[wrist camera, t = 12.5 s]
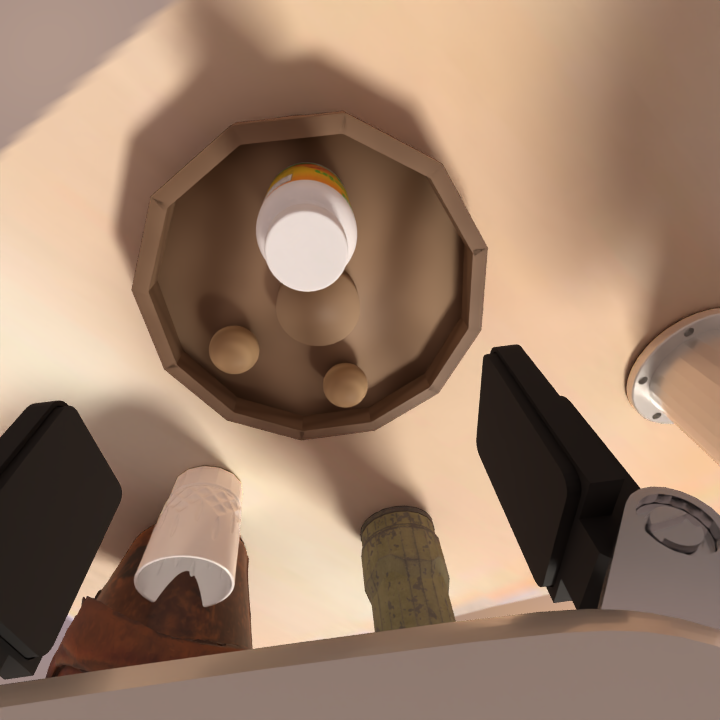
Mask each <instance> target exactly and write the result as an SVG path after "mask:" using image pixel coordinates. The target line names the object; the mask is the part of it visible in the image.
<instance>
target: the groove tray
mask: <svg viewBox="0 0 720 720" xmlns="http://www.w3.org/2000/svg"><path fill="white" fill-rule="evenodd" d="M303 162H310V163H316V164H319V165H322V166H324V167H326V168H328V169H329V170H331V171H332V172H333V173H334V174H335V175H336V176H337V177H338V178H339V179H340V181H341V182H342V184H343V185H344V187H345V189H346V192H347V195H348V198H349V201H350V205H351V208H352V211H353V214H354V217H355V221H356V226H357V242H356V247H355V250H354V253H353V255H352V257H351V259H350V261H349V262H348V264H347V265H346V266H345V269H344V271H343V272H342V274H341V275H340V276H339V278H338V279H337V280H336V281H335V282H334V283H332V284H331V285H329V286H328V287H326V288H323V289H321V290H317V291H310V292H305V291H298V290H295V289H292V288H289V287H287V286H286V285H284V284H283V283H281V282H280V281H279V280H278V279H277V278H276V277H275V276H274V275H273V274H272V272H271V271H270V269H269V267H268V265H267V262H266V260H265V259H264V257H263V255H262V254H261V252H260V249H259V246H258V243H257V238H256V223H257V218H258V214H259V211H260V208H261V206H262V204H263V201H264V199H265V196H266V194H267V192H268V189H269V187H270V185H271V183H272V182H273V180H274V179H275V177H276V176H277V175H278V174H279V173H280V172H281V171H283V170H284V169H286V168H287V167H289V166H291V165H294V164H297V163H303ZM487 250H488V247H487V246H486V244H485V242H484V240H483V238H482V236H481V234H480V233H479V231H478V229H477V227H476V225H475V223H474V221H473V220H472V218H471V216H470V214H469V212H468V210H467V209H466V207H465V205H464V203H463V201H462V199H461V197H460V196H459V194H458V192H457V190H456V188H455V186H454V184H453V183H452V181H451V179H450V177H449V175H448V173H447V172H446V170H445V168H444V166H443V164H441V163H440V162H438V161H437V160H435V159H433V158H431V157H429V156H427V155H426V154H424V153H422V152H420V151H418V150H416V149H414V148H412V147H410V146H409V145H407V144H405V143H403V142H401V141H399V140H397V139H395V138H393V137H392V136H390V135H388V134H386V133H384V132H382V131H380V130H378V129H376V128H374V127H373V126H371V125H369V124H367V123H365V122H363V121H361V120H359V119H357V118H356V117H354V116H352V115H350V114H348V113H346V112H344V111H340V112H330V113H321V114H312V115H293V116H286V117H280V118H274V119H265V120H256V121H246V122H237V123H235V124H233V125H231V126H230V127H228V128H227V129H226V130H225V131H224V132H223V133H222V134H221V135H219V136H218V137H217V138H216V139H215V140H214V141H213V142H212V143H210V144H209V145H208V146H207V147H206V148H205V149H204V150H203V151H201V152H200V153H199V154H198V155H197V156H196V157H195V158H194V159H192V160H191V161H190V162H189V163H188V164H187V165H186V166H185V167H184V168H182V169H181V170H180V171H179V172H178V173H177V174H176V175H175V176H173V177H172V178H171V179H170V180H169V181H168V182H167V183H166V184H164V185H163V186H162V187H161V188H160V189H159V190H158V191H157V192H155V193H154V194H153V195H152V196H151V197H150V202H149V207H148V212H147V217H146V222H145V227H144V231H143V236H142V241H141V246H140V251H139V256H138V261H137V266H136V271H135V276H134V280H133V285H132V292H133V294H134V297H135V299H136V302H137V304H138V307H139V309H140V311H141V314H142V316H143V319H144V321H145V324H146V326H147V328H148V331H149V333H150V336H151V338H152V341H153V343H154V345H155V348H156V350H157V353H158V355H159V358H160V360H161V362H162V365H163V367H164V369H165V370H166V371H167V372H168V373H169V374H171V375H172V376H173V377H174V378H176V379H177V380H178V381H179V382H180V383H182V384H183V385H184V386H185V387H187V388H188V389H189V390H190V391H191V392H193V393H194V394H195V395H196V396H198V397H199V398H200V399H201V400H203V401H204V402H205V403H206V404H207V405H209V406H210V407H211V408H212V409H214V410H215V411H216V412H217V413H218V414H220V415H221V416H222V417H223V418H225V419H226V420H227V421H231V422H235V423H239V424H242V425H246V426H250V427H254V428H257V429H261V430H265V431H269V432H272V433H276V434H280V435H284V436H287V437H291V438H295V439H299V440H306V439H314V438H322V437H329V436H337V435H345V434H352V433H360V432H368V431H375V430H377V429H378V428H380V427H382V426H383V425H385V424H387V423H389V422H390V421H392V420H394V419H395V418H397V417H399V416H401V415H402V414H404V413H406V412H407V411H409V410H411V409H413V408H414V407H416V406H418V405H419V404H421V403H423V402H424V401H426V400H428V399H430V398H431V397H433V396H435V395H436V394H438V393H439V392H440V390H441V389H442V387H443V386H444V385H445V383H446V382H447V380H448V379H449V377H450V376H451V374H452V373H453V371H454V370H455V368H456V367H457V365H458V364H459V362H460V361H461V359H462V358H463V356H464V355H465V353H466V352H467V350H468V349H469V348H470V346H471V345H472V343H473V342H474V340H475V339H476V337H477V336H478V334H479V333H480V331H481V327H482V314H483V301H484V289H485V276H486V263H487ZM227 326H241V327H244V328H246V329H248V330H249V331H251V332H252V333H253V334H254V335H255V337H256V338H257V340H258V343H259V349H260V351H259V357H258V359H257V361H256V363H255V364H254V366H253V367H252V368H250V369H249V370H248V371H246V372H243V373H240V374H229V373H225V372H223V371H221V370H220V369H218V368H217V367H216V366H215V365H214V364H213V362H212V360H211V358H210V355H209V345H210V341H211V339H212V337H213V336H214V335H215V333H216V332H218V331H219V330H220V329H222V328H224V327H227ZM340 363H351V364H354V365H356V366H358V367H359V368H360V369H361V370H362V371H363V372H364V374H365V375H366V378H367V382H368V388H367V393H366V395H365V397H364V398H363V400H362V401H361V402H360V403H358V404H357V405H355V406H352V407H347V408H343V407H339V406H336V405H334V404H333V403H331V402H330V401H329V400H328V399H327V397H326V395H325V393H324V390H323V381H324V377H325V375H326V373H327V372H328V371H329V369H331V368H332V367H333V366H335V365H337V364H340Z"/></svg>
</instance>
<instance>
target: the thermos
mask: <svg viewBox="0 0 720 720" xmlns="http://www.w3.org/2000/svg"><path fill="white" fill-rule="evenodd" d="M434 530H435V529H434V526H433V522H432V518H431V517H430V516H429V515H428V514H427V513H426V512H424V511H422V510H420V509H418V508H414V507H409V506H398V507H392V508H387V509H383V510H381V511H379V512H377V513H375V514H373V515H372V516H371V517H370V518H369V519H367V520H366V521H365V523H364V525H363V526H362V528H361V541H362V547H363V548H362V555H361V557H362V567H363V577H364V586H365V592H366V594H367V596H368V598H369V600H370V602H371V605H372V610H373V619H374V628H375V632H382V631H389V630H397V629H404V628H412V627H419V626H426V625H434V624H441V623H449V622H456V621H455V617H454V613H453V610H452V606H451V602H450V598H449V595H448V592H449V579H450V578H449V575H448V571H447V567H446V564H445V560H444V556H443V553H442V549H441V546H440V542H439V538H438V537H437V536H436V534H435V532H434Z"/></svg>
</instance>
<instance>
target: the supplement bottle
mask: <svg viewBox="0 0 720 720" xmlns="http://www.w3.org/2000/svg"><path fill="white" fill-rule="evenodd" d="M256 238H257V243H258V246H259V249H260V252H261V254H262V255H263V257H264V259H265V260H266V262H267V265H268V267H269V269H270V271H271V272H272V274H273V275H274V276H275V277H276V278H277V279H278V280H279V281H280V282H281V283H283V284H284V285H286V286H287V287H289V288H292V289H295V290H298V291H305V292H310V291H317V290H321V289H323V288H326V287H328V286H329V285H331V284H332V283H334V282H335V281H336V280H337V279H338V278H339V276H340V275H341V274H342V272H343V271H344V269H345V266H346V265H347V264H348V262H349V261H350V259H351V257H352V255H353V253H354V250H355V247H356V242H357V226H356V221H355V217H354V214H353V211H352V208H351V205H350V201H349V198H348V195H347V192H346V189H345V187H344V185H343V184H342V182H341V181H340V179H339V178H338V177H337V176H336V175H335V174H334V173H333V172H332V171H331V170H329V169H328V168H326V167H324V166H322V165H319V164H316V163H310V162H303V163H297V164H294V165H291V166H289V167H287V168H286V169H284V170H283V171H281V172H280V173H279V174H278V175H277V176H276V177H275V179H274V180H273V182H272V183H271V185H270V187H269V189H268V192H267V194H266V196H265V199H264V201H263V204H262V206H261V208H260V211H259V214H258V218H257V223H256Z"/></svg>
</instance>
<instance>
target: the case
mask: <svg viewBox="0 0 720 720" xmlns="http://www.w3.org/2000/svg"><path fill="white" fill-rule="evenodd" d="M154 527H155V525H154V526H152V527H150V528H148V529H147V530H145V531H144V532H142V533H141V534H140V535H139V536H138V537H137V538H136V540H135V541H134V542H133V544H132V545H131V547H130V548H129V550H128V552H127V553H126V555H125V556H124V558H123V559H122V561H121V562H120V564H119V565H118V567H117V568H116V570H115V571H114V573H113V574H112V576H111V577H110V579H109V581H108V582H107V583H106V585H105V586H104V587H103V589H102V590H99V591H98V593H97V594H96V596H95V598H91V597H89V596H87V597H86V599H85V597H83V599H82V606H81V608H80V610H79V612H78V615H76V616H75V618H74V620H73V621H72V623H71V625H70V626H69V628H68V629H67V631H66V633H65V636H64V638H63V640H62V642H61V644H60V646H59V648H58V650H57V651H56V653H55V655H54V657H53V659H52V661H51V663H50V666H49V669H48V672H47V675H46V678H52V677H59V676H66V675H73V674H79V673H86V672H93V671H100V670H107V669H114V668H121V667H128V666H135V665H142V664H149V663H156V662H164V661H171V660H178V659H185V658H192V657H199V656H206V655H213V654H221V653H228V652H235V651H242V650H249V649H252V635H251V613H250V602H249V588H248V563H249V558H248V556H247V552H246V548H245V546H244V544H243V543H242V541H241V540H240V539H239V547H238V556H237V565H236V574H235V584H234V589H233V591H232V592H231V594H230V595H229V596H228V597H227V598H226V599H224V600H223V601H221V602H219V603H217V604H215V605H212V606H208V607H203V604H202V598H201V593H200V589H199V585H198V582H197V580H196V578H195V576H192V577H191V576H190V572H189V571H184V572H181V573H180V574H178V575H177V576H176V577H175V578H174V579H173V580H172V581H171V582H170V583H169V584H168V585H167V586H166V588H165V589H164V590H163V591H162V593H161V594H160V595H159V597H158V598H157V600H156V601H155V602H151V601H149V600H147V599H146V598H144V597H143V596H142V595H141V594H140V593H139V592H138V591H137V589H136V588H135V585H134V576H135V574H136V571H137V569H138V567H139V564H140V562H141V559H142V557H143V554H144V552H145V550H146V547H147V545H148V542H149V540H150V537H151V535H152V532H153V530H154Z"/></svg>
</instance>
